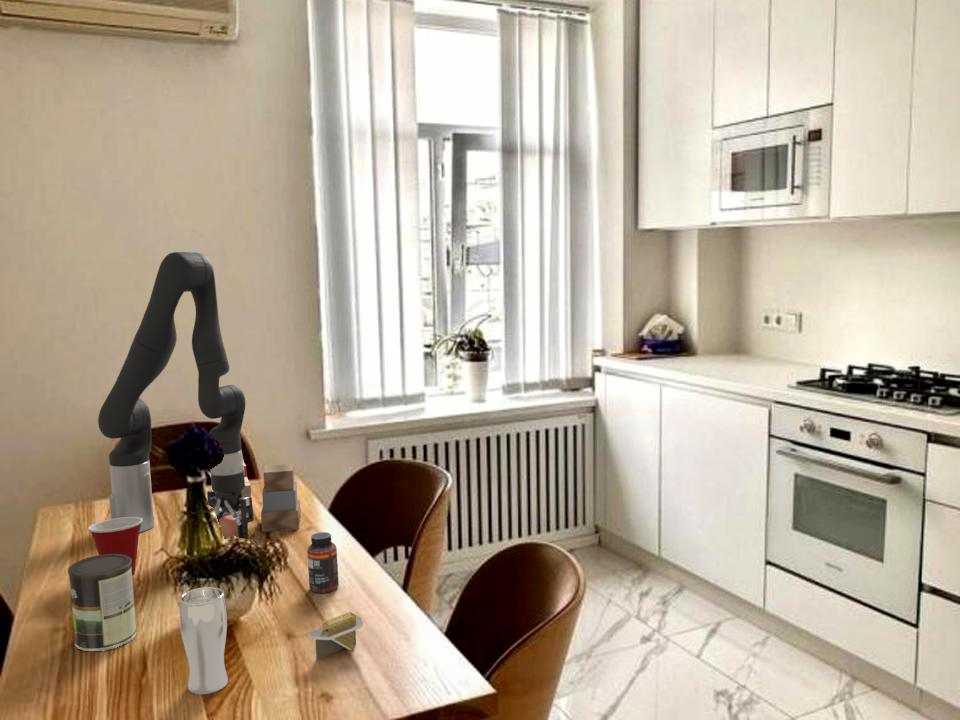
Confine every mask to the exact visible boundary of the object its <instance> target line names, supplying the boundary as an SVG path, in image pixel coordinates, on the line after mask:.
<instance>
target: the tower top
mask: <svg viewBox="0 0 960 720" xmlns="http://www.w3.org/2000/svg"><path fill="white" fill-rule="evenodd" d="M295 479H296V478H295V464H294V463H285V464H283V463H282V464H269V465H267V464H266V465H265V467H264V471H263V488H264V489H265V492H276V491H290V490H294V484H295V482H296V481H295Z"/></svg>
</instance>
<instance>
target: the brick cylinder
mask: <svg viewBox="0 0 960 720" xmlns="http://www.w3.org/2000/svg"><path fill="white" fill-rule="evenodd" d="M219 525H220V526H221V529H222V532H223V536H224V539H227V538H228V537H229V536H231V535H234V536H236V537H238V523H237V521H236V519H235V518H233V517H232V515H229V516H226V515H224V516H223V517H221V518H220V519H219Z"/></svg>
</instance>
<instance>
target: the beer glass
mask: <svg viewBox="0 0 960 720" xmlns="http://www.w3.org/2000/svg"><path fill="white" fill-rule="evenodd" d="M227 619H228V615H227V608H226V601H225V594H224V590H223V589H222V588H220V587H216V586H215V587H214V586H213V587H212V586H204V587H198V588H194V589H191V590H188V591H186V592H184V593H183V594H182V595H180V597H179V623H180V625H179V626H180V635H181V639H182V643H183V646H184V649H185V654H186V657H187V661H188V667H189V669H188V670H189V676H188V684H187V689H188V691H189V692H190V693H191V694H194V695H200V696H201V695H204V696H205V695H209V694H214V693H217V692H219V691H221V690H222V689H224V688H225V687H226V686H227V684H228V683H229V679H228V674H227V670H226V667H225V649H226V640H227V630H228V620H227Z"/></svg>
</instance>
